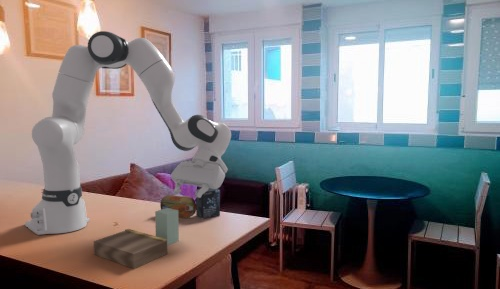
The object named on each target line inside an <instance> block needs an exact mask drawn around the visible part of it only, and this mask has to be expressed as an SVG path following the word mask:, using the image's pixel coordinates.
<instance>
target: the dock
mask: <svg viewBox="0 0 500 289" xmlns="http://www.w3.org/2000/svg"><path fill="white" fill-rule="evenodd" d="M93 253H94V254H93V255H95V256H98V257H100V258H103V259H105V260H109V261H111V262H114V263H117V264H120V265H122V266H125V267H128V268H129V269H130V268H131V269H137V268H139V267H141V266H143V265H145V264H148V263H150V262H151V261H152V262H153V261H154V260H157V259H159V258H161V257H163V256H166V255H168V246H167V239H164V238H160V237H156V235H152V234H148V233H145V232H142V231H137V230H135V229H131V228H126V229H124V230H123V231H119V232H117V233H113V234H111V235H107V236H106V237H105V236H104V237H101V238H99V239H97V240H94V241H93Z"/></svg>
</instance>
